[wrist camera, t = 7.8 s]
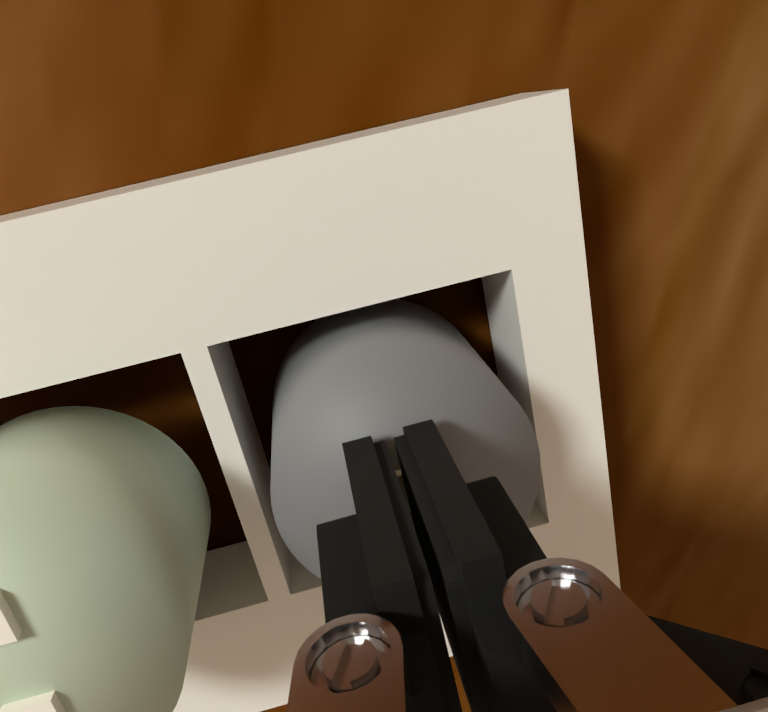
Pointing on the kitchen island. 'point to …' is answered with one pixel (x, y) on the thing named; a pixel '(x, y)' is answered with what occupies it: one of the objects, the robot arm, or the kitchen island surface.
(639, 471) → the kitchen island surface
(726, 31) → the kitchen island surface
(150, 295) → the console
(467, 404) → the button
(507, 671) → the robot arm
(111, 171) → the kitchen island surface
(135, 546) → the button
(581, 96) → the kitchen island surface
